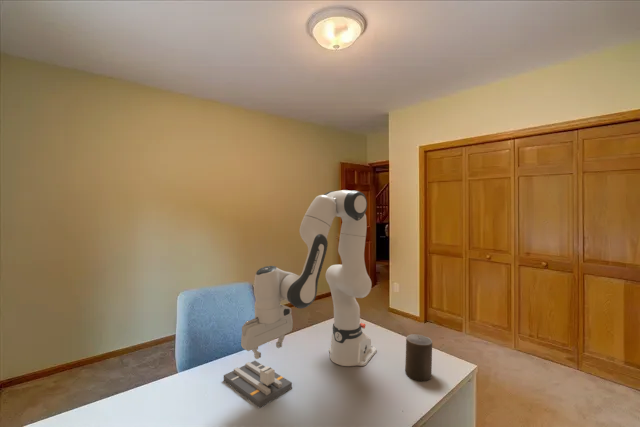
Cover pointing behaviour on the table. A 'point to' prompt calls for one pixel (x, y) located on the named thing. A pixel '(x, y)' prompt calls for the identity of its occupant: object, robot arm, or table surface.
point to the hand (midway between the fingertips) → (268, 352)
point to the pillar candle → (418, 357)
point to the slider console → (256, 384)
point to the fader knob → (267, 376)
